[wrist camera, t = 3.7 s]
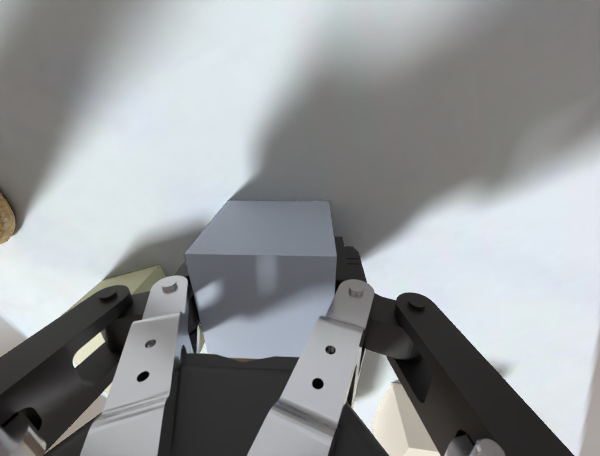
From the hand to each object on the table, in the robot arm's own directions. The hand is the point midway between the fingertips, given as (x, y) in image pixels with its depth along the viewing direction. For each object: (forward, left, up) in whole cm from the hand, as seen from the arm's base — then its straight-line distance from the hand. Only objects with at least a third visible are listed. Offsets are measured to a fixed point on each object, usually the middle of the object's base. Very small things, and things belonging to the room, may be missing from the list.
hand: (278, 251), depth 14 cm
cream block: (+14, +9, -1) cm, 17 cm away
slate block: (0, 0, -1) cm, 1 cm away
